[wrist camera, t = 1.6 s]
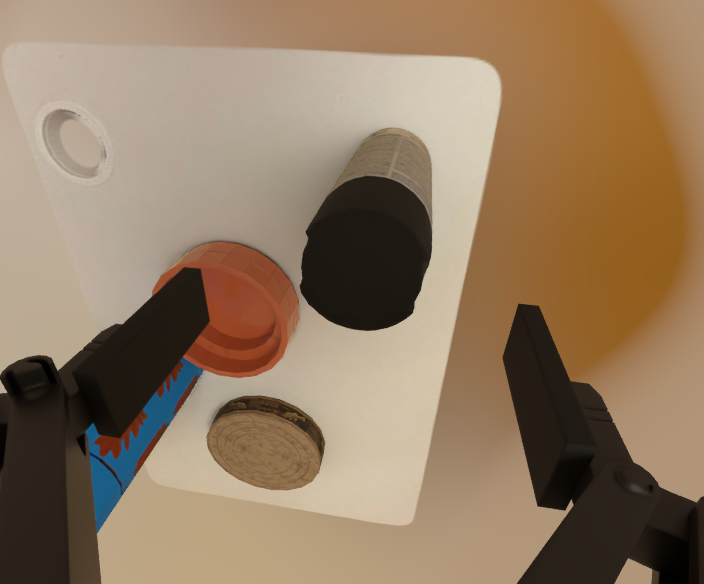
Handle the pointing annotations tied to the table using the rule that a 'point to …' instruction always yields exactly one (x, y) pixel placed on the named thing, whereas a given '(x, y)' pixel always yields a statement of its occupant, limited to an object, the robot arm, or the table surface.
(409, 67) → the table surface
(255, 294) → the dish
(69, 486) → the robot arm
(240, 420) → the brown round disc
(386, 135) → the spray can
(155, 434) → the thermos
